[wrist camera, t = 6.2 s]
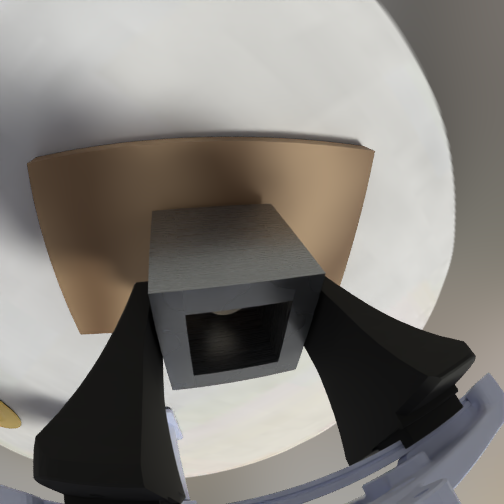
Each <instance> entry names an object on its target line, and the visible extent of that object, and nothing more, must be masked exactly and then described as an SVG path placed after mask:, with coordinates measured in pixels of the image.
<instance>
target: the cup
mask: <svg viewBox="0 0 504 504" xmlns="http://www.w3.org/2000/svg"><path fill="white" fill-rule="evenodd" d="M0 426H1V427H5V428H18V427H20V426H21V421H20V419H19V418H18V416H17V415H16V414H15V413H14V412H13V411H12V410H11V409H10V408H8V407H7V406H6V405H5V404H3V403H2V402H1V401H0Z"/></svg>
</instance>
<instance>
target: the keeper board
mask: <svg viewBox="0 0 504 504" xmlns="http://www.w3.org/2000/svg"><path fill="white" fill-rule="evenodd" d="M374 153H375V151H373V150H371V149H369V148H367V147H364V146H359V145H352V144H344V143H335V142H325V141H315V140H303V139H288V138H268V137H191V138H171V139H157V140H145V141H134V142H125V143H116V144H108V145H101V146H94V147H88V148H81V149H76V150H70V151H64V152H59V153H54V154H49V155H45V156H40V157H36V158H34V159H33V160H32V161H30V162H29V163H27V167H28V173H29V179H30V184H31V189H32V194H33V199H34V204H35V208H36V212H37V216H38V220H39V224H40V228H41V231H42V235H43V238H44V242H45V245H46V248H47V251H48V255H49V258H50V261H51V264H52V266H53V269H54V272H55V275H56V278H57V280H58V283H59V286H60V288H61V291H62V293H63V296H64V298H65V301H66V303H67V305H68V308H69V310H70V312H71V315H72V317H73V319H74V321H75V323H76V326H77V328H78V330H79V332H80V334H99V333H113V331H114V329H115V327H116V325H117V323H118V321H119V319H120V317H121V315H122V313H123V311H124V308H125V306H126V304H127V302H128V299H129V297H130V294H131V292H132V289H133V286H134V284H135V283H136V282H145V281H148V274H149V250H150V234H151V220H152V211H157V210H169V209H182V208H196V207H211V206H228V205H249V204H272V205H273V207H274V208H275V209H276V210H277V212H278V213H279V214H280V215H281V217H282V218H283V219H284V220H285V222H286V223H287V224H288V225H289V227H290V228H291V229H292V230H293V232H294V233H295V234H296V235H297V237H298V238H299V239H300V241H301V242H302V243H303V244H304V246H305V247H306V248H307V250H308V251H309V252H310V253H311V255H312V256H313V257H314V259H315V260H316V261H317V263H318V264H319V265H320V266H321V268H322V269H323V270H324V272H325V273H326V274H325V276H326V277H327V278H329V279H330V280H332V281H333V282H334V283H336V284H337V285H339V286H340V284H341V281H342V278H343V274H344V271H345V268H346V265H347V261H348V258H349V255H350V251H351V248H352V244H353V241H354V237H355V233H356V230H357V226H358V222H359V218H360V215H361V211H362V207H363V203H364V199H365V194H366V190H367V186H368V181H369V177H370V172H371V167H372V163H373V158H374ZM240 309H241V308H240ZM240 309H232V310H224V311H216V312H213V313H215V314H218V315H227V314H231V313H234V312H236V311H238V310H240Z"/></svg>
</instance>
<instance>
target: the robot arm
mask: <svg viewBox="0 0 504 504" xmlns="http://www.w3.org/2000/svg"><path fill="white" fill-rule="evenodd" d="M304 347H305V349H306V350H307V352H308V354H309V356H310V358H311V360H312V361H313V363H314V365H315V367H316V369H317V371H318V373H319V375H320V378H321V380H322V383H323V385H324V388H325V390H326V393H327V395H328V398H329V401H330V404H331V407H332V410H333V412H334V416H335V419H336V422H337V425H338V429H339V432H340V436H341V439H342V444H343V448H344V452H345V457H346V460H347V462H348V464H349V467H346V468H344V469H342V470H339V471H337V472H335V473H332V474H330V475H327V476H325V477H322V478H319V479H317V480H314V481H311V482H308V483H305V484H303V485H299V486H296V487H293V488H291V489H287V490H283V491H280V492H276V493H273V494H269V495H266V496H261V497H257V498H253V499H248V500H244V501H239V502H234V503H228V504H302V503H305V502H308V501H311V500H313V499H316V498H319V497H321V496H324V495H327V494H329V493H331V492H334V491H336V490H338V489H341V488H343V487H345V486H348V485H350V484H352V483H354V482H356V481H358V480H360V479H362V478H364V477H366V476H368V475H370V474H372V473H374V472H376V471H378V470H380V469H381V468H383V467H385V466H387V465H389V464H390V463H392V462H394V461H396V460H397V459H399V458H400V459H399V460H398V465H397V466H396V467H395V468H393V469H392V470H390V471H388V472H386V473H384V474H383V475H381V476H379V477H377V478H375V479H373V480H371V481H370V482H368V483H366V484H364V485H363V486H362V488H363V489H364V492H365V495H363V496H361V497H359V498H357V499H355V500H352V501H350V502H348V503H346V504H461V503H460V501H459V499H458V497H457V495H456V493H455V492H454V489H455V487H456V486H457V485H458V484H459V483H460V481H462V479H463V478H464V477H465V476H466V475H467V473H468V472H469V471H470V469H471V468H472V467H473V466H474V464H475V463H476V462H477V460H478V459H479V458H480V456H481V455H482V454H483V452H484V451H485V449H486V448H487V446H488V445H489V444H490V442H491V441H492V439H493V437H494V436H495V434H496V433H497V431H498V430H499V429H500V427H501V426H502V424H503V423H504V392H503V391H502V389H501V388H500V387H499V385H498V384H497V382H496V381H495V380H494V378H493V377H492V376H491V374H490V373H487V374H486V375H485V376H484V377H482V379H480V380H479V381H478V382H477V383H476V384H475V385H474V386H473V387H472V388H471V389H470V390H469V391H468V392H467V393H466V394H465V395H464V396H463V397H462V398H461V399H458V398H457V396H456V395H455V394H456V393H457V392H458V388H457V387H456V386H455V384H456V382H457V381H458V380H459V379H460V378H461V377H462V376H463V375H464V374H465V373H466V371H467V370H468V369H469V368H470V367H471V365H472V364H473V362H474V361H475V357H476V356H475V354H474V353H473V352H472V351H471V349H470V348H469V347H468V346H467V344H466V343H465V342H464V341H460V340H455V339H451V338H447V337H442V336H439V335H435V334H432V333H429V332H426V331H423V330H420V329H418V328H415V327H413V326H410V325H408V324H405V323H403V322H401V321H399V320H396V319H394V318H392V317H390V316H388V315H386V314H384V313H382V312H381V311H379V310H377V309H375V308H373V307H372V306H370V305H368V304H367V303H365V302H363V301H362V300H360V299H358V298H357V297H355V296H354V295H352V294H351V293H349V292H348V291H346V290H345V289H343V288H342V287H340V286H339V285H337V284H336V283H334V282H333V281H332V280H330V279H329V278H327V277H326V276H325V277H324V281H323V285H322V288H321V292H320V295H319V298H318V302H317V305H316V309H315V312H314V315H313V318H312V322H311V325H310V328H309V331H308V334H307V337H306V340H305V343H304ZM182 438H183V436H182V433H181V431H180V428H179V426H178V423H177V421H176V418H175V416H174V413H173V411H172V410H171V409H165V401H164V383H163V355H162V351H161V347H160V344H159V340H158V336H157V332H156V327H155V323H154V319H153V315H152V310H151V305H150V301H149V296H148V281H145V282H136V283H135V284H134V286H133V289H132V292H131V294H130V297H129V299H128V302H127V304H126V306H125V308H124V311H123V313H122V315H121V317H120V319H119V321H118V323H117V325H116V327H115V329H114V331H113V333H112V335H111V337H110V339H109V341H108V342H107V344H106V346H105V348H104V350H103V351H102V353H101V355H100V356H99V358H98V360H97V361H96V363H95V364H94V366H93V368H92V369H91V371H90V372H89V374H88V375H87V376H86V378H85V379H84V381H83V382H82V384H81V385H80V386H79V388H78V389H77V390H76V392H75V393H74V394H73V395H72V397H71V398H70V399H69V400H68V402H67V403H66V404H65V405H64V407H63V408H62V409H61V410H60V411H59V413H58V414H57V415H56V416H55V417H54V418H53V419H52V420H51V421H50V422H49V423H48V424H47V425H46V426H45V427H44V428H43V430H42V431H41V432H40V433H39V434H38V435H37V436H36V438H35V444H34V458H33V465H34V466H33V473H34V479H35V480H36V481H37V482H38V483H40V484H41V485H43V486H46V487H48V488H50V489H52V490H55V491H57V492H59V493H62V494H64V502H65V504H197V502H196V501H190V497H189V493H188V490H187V486H186V481H185V477H184V472H183V468H182V463H181V458H180V454H179V449H178V443H177V440H179V439H182ZM0 504H62V503H58V502H53V501H48V500H43V499H41V498H40V497H37V496H35V495H32V494H29V493H26V492H23V491H19V490H16V489H13V488H10V487H7V486H4V485H1V484H0Z"/></svg>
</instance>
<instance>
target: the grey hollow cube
mask: <svg viewBox="0 0 504 504" xmlns="http://www.w3.org/2000/svg"><path fill="white" fill-rule="evenodd" d="M325 274H326V273H325V272H324V270H323V269H322V268H321V266H320V265H319V264H318V263H317V261H316V260H315V259H314V257H313V256H312V255H311V253H310V252H309V251H308V250H307V248H306V247H305V246H304V244H303V243H302V242H301V241H300V239H299V238H298V237H297V235H296V234H295V233H294V232H293V230H292V229H291V228H290V227H289V225H288V224H287V223H286V222H285V220H284V219H283V218H282V217H281V215H280V214H279V213H278V212H277V210H276V209H275V208H274V207H273V205H272V204H249V205H228V206H211V207H196V208H182V209H169V210H157V211H152V220H151V234H150V250H149V274H148V296H149V301H150V305H151V310H152V315H153V319H154V323H155V327H156V332H157V336H158V340H159V344H160V347H161V351H162V355H163V359H164V362H165V366H166V369H167V373H168V376H169V380H170V383H171V386H172V389H173V390H179V389H188V388H197V387H204V386H211V385H218V384H224V383H231V382H236V381H242V380H248V379H253V378H258V377H263V376H268V375H272V374H277V373H282V372H286V371H290V370H294V369H296V367H297V364H298V361H299V358H300V355H301V352H302V349H303V346H304V343H305V340H306V337H307V334H308V331H309V328H310V325H311V322H312V318H313V315H314V312H315V309H316V305H317V302H318V298H319V295H320V292H321V288H322V285H323V281H324V277H325ZM240 308H241V309H240ZM232 309H240V310H238V311H236V312H234V313H231V314H227V315H218V314H215V313H213V312H216V311H224V310H232Z"/></svg>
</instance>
